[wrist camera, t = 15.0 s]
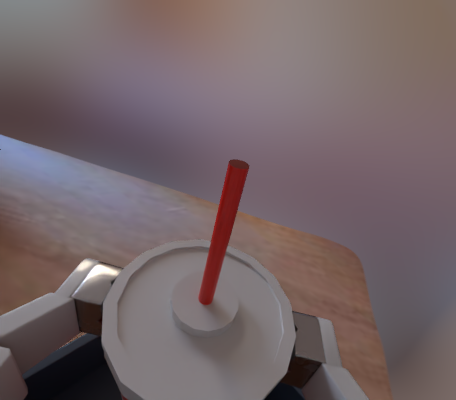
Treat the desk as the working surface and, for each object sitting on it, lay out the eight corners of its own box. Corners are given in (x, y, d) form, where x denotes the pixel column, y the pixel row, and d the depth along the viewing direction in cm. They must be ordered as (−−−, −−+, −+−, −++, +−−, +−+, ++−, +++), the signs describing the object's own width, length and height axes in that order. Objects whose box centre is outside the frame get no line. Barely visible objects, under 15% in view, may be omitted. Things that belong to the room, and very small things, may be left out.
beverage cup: (257, 406, 14) (397, 184, 7) (174, 556, 10) (321, 378, 2) (178, 330, 17) (218, 110, 9) (83, 421, 12) (17, 135, 5)
